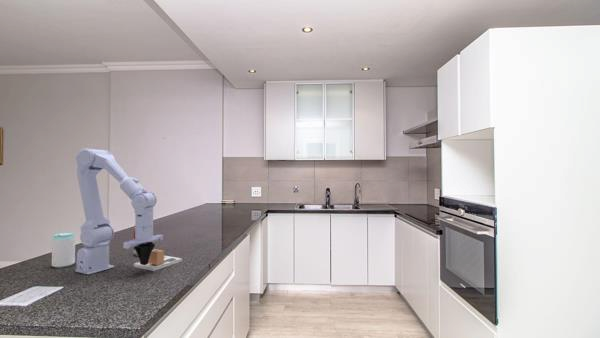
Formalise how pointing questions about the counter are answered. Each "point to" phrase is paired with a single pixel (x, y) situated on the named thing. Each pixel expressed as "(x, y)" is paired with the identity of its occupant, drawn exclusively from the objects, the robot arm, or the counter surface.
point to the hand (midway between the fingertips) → (144, 264)
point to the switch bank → (153, 267)
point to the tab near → (157, 257)
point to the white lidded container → (63, 250)
